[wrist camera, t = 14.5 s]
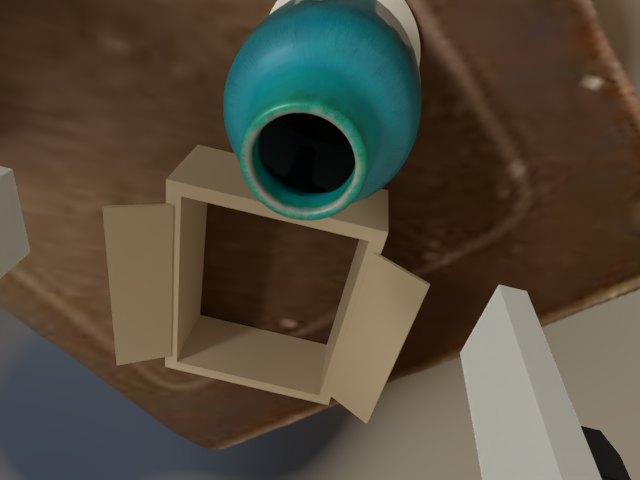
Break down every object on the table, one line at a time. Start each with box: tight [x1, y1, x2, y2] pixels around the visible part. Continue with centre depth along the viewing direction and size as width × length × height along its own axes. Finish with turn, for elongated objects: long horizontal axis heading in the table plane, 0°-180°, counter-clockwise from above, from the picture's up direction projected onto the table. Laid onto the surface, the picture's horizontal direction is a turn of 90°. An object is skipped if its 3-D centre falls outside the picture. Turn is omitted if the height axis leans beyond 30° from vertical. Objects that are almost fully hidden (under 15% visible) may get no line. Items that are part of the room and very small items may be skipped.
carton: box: [102, 145, 430, 424], centre depth 42 cm, size 25×22×10 cm
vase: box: [223, 0, 422, 221], centre depth 26 cm, size 11×11×19 cm
